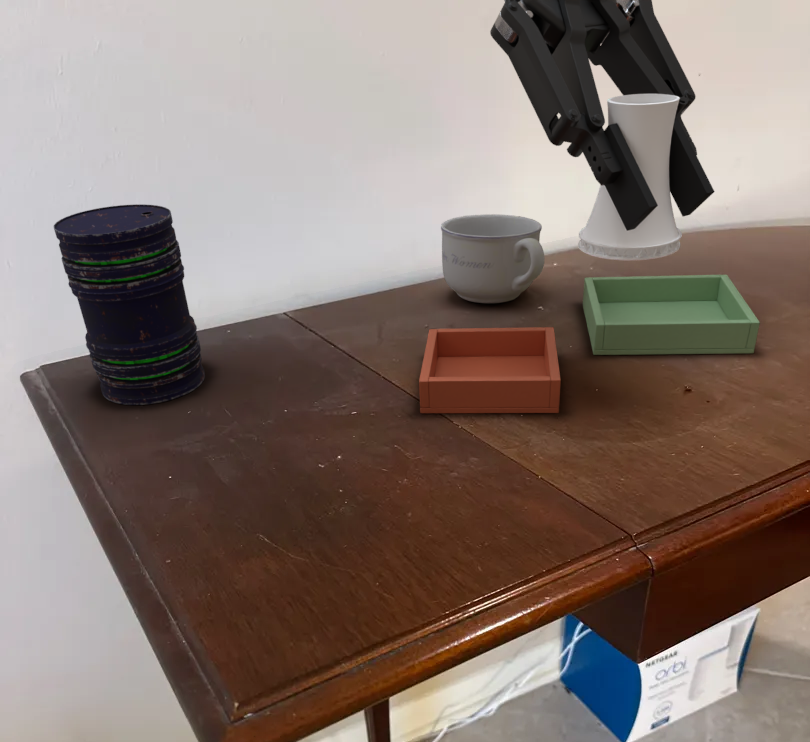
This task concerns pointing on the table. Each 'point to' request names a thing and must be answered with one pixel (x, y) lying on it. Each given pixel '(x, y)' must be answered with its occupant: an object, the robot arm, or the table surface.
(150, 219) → the dark blue cylinder
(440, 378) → the terracotta tray
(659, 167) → the vase
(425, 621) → the table surface
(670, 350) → the green tray
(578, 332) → the table surface
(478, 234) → the teacup
